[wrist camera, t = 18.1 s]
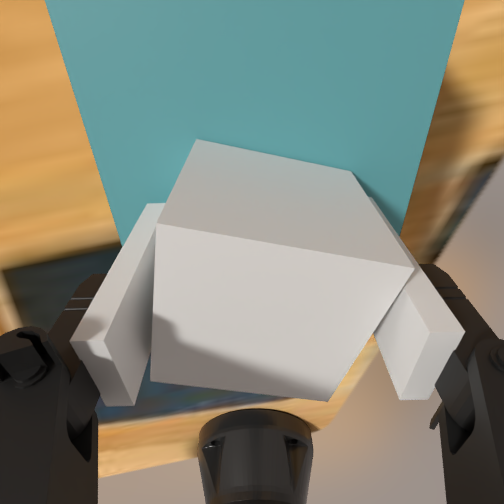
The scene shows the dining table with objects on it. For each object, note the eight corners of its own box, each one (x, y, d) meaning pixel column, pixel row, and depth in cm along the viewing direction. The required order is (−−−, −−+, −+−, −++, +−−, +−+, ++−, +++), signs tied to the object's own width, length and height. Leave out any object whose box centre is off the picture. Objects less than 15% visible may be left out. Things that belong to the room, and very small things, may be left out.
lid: (372, 301, 18) (377, 314, 17) (150, 307, 18) (145, 320, 17) (456, -33, 10) (475, -39, 9) (55, -18, 10) (38, -22, 9)
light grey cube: (196, 138, 12) (155, 221, 7) (350, 170, 12) (416, 267, 7) (182, 265, 15) (149, 382, 10) (304, 285, 16) (328, 403, 11)
